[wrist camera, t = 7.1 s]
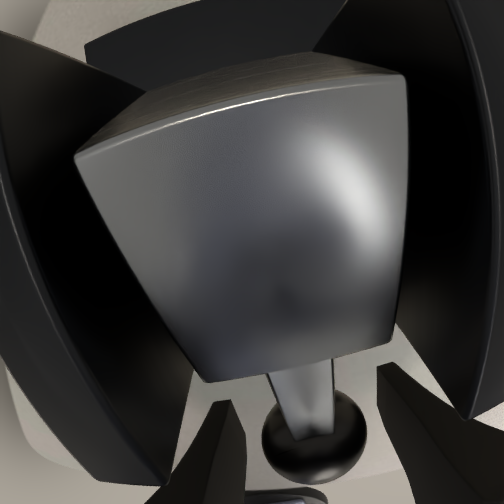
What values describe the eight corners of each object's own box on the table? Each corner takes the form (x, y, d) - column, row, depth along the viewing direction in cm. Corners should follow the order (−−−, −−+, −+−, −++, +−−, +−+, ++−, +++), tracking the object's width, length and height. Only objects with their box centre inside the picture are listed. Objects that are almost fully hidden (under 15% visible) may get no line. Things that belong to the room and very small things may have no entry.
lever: (351, 399, 10) (371, 476, 8) (266, 418, 11) (276, 497, 8) (338, 45, 4) (508, 86, 1) (119, 99, 4) (-14, 214, 1)
